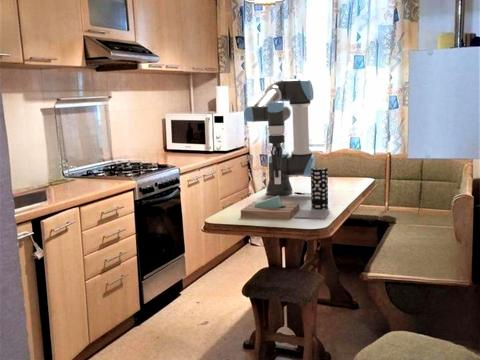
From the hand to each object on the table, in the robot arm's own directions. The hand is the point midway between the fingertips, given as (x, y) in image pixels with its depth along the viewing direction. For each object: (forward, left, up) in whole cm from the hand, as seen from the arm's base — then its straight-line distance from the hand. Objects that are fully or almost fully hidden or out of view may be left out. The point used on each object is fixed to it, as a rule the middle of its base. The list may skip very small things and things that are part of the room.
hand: (277, 183), depth 247 cm
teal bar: (0, -4, -13) cm, 14 cm away
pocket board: (0, -4, -15) cm, 15 cm away
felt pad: (0, +17, -15) cm, 22 cm away
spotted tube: (-16, +17, -15) cm, 28 cm away
